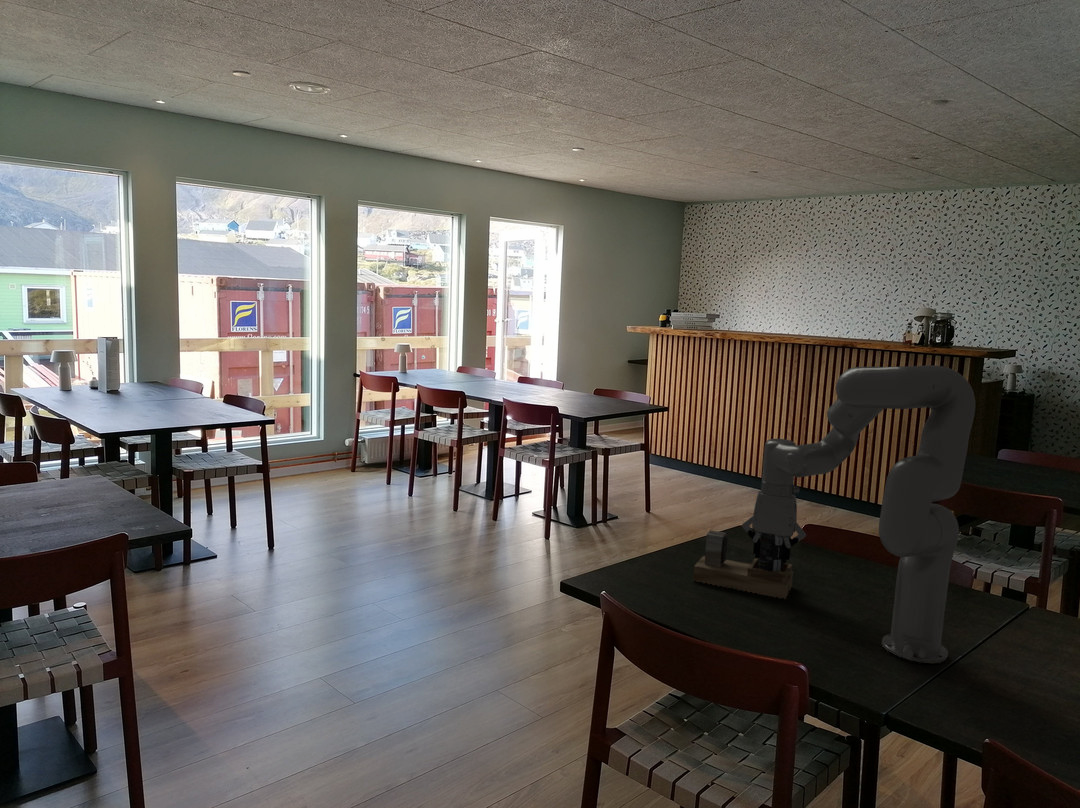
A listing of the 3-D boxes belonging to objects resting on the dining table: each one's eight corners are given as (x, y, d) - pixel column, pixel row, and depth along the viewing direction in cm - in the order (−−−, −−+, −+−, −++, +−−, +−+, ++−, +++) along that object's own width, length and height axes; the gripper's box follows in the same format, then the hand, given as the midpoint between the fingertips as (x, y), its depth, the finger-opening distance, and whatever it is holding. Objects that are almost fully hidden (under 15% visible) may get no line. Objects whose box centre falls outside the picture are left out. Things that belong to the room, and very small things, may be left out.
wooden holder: (785, 599, 190) (789, 552, 189) (692, 581, 200) (696, 535, 199) (791, 587, 199) (795, 541, 197) (702, 569, 209) (705, 526, 207)
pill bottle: (785, 573, 193) (789, 529, 191) (761, 572, 193) (765, 527, 191) (778, 565, 199) (782, 522, 197) (755, 564, 199) (758, 520, 197)
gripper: (815, 491, 193) (809, 561, 195) (744, 481, 200) (739, 549, 203) (811, 497, 186) (804, 570, 189) (738, 487, 193) (733, 557, 196)
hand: (771, 558), depth 196 cm, fingers closed on pill bottle, 6 cm apart
